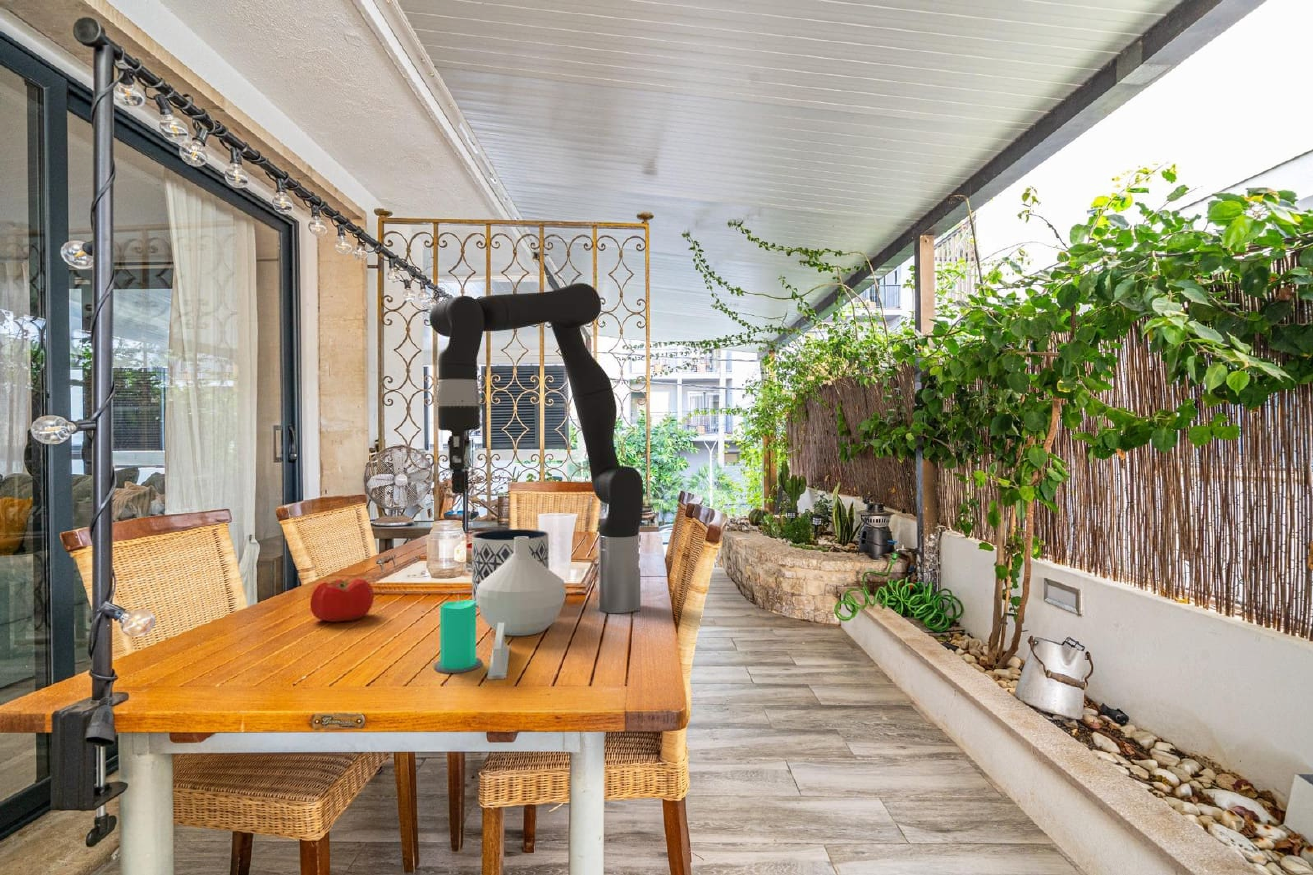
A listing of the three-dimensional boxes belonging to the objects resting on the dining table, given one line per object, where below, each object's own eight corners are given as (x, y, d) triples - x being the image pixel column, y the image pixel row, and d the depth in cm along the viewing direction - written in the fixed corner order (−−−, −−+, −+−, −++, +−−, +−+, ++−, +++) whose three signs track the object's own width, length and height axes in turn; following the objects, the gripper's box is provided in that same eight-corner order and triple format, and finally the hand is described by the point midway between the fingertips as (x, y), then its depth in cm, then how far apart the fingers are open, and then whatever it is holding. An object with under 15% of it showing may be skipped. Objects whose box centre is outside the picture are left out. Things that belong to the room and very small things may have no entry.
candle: (481, 658, 121) (481, 591, 121) (469, 670, 115) (468, 599, 115) (448, 657, 121) (448, 590, 121) (434, 669, 115) (434, 598, 115)
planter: (513, 590, 178) (513, 527, 178) (564, 599, 167) (564, 533, 167) (456, 604, 163) (456, 535, 163) (507, 615, 152) (507, 542, 152)
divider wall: (509, 648, 128) (509, 622, 128) (506, 678, 112) (506, 648, 112) (493, 649, 127) (493, 623, 127) (487, 679, 111) (487, 649, 111)
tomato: (377, 610, 157) (377, 573, 157) (369, 624, 145) (369, 584, 145) (317, 614, 154) (317, 576, 154) (304, 628, 142) (304, 588, 142)
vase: (457, 637, 135) (457, 541, 135) (507, 614, 153) (507, 529, 153) (537, 646, 129) (537, 546, 129) (581, 622, 146) (580, 533, 146)
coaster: (483, 657, 123) (483, 654, 123) (480, 672, 115) (480, 669, 115) (437, 659, 122) (437, 657, 122) (430, 675, 114) (430, 672, 114)
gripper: (477, 402, 121) (479, 494, 121) (481, 406, 135) (482, 487, 135) (433, 403, 119) (435, 495, 119) (441, 406, 133) (443, 489, 133)
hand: (460, 491), depth 127 cm, fingers open, 8 cm apart
